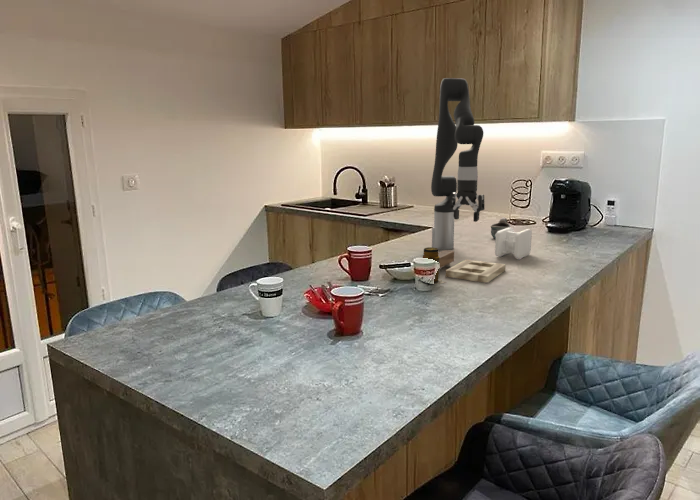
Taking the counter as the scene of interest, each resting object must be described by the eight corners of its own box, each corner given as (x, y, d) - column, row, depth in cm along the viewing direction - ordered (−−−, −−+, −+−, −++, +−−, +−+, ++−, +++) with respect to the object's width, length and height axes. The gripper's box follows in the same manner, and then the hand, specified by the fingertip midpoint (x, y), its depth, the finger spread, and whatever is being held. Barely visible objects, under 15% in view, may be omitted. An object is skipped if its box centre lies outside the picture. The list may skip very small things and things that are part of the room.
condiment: (432, 277, 195) (433, 245, 192) (446, 282, 188) (447, 250, 185) (416, 279, 192) (416, 247, 189) (429, 285, 185) (430, 252, 182)
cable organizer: (517, 261, 217) (518, 233, 214) (493, 258, 223) (494, 231, 221) (531, 254, 228) (532, 228, 225) (507, 251, 234) (509, 226, 232)
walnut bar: (429, 272, 202) (429, 257, 201) (444, 264, 213) (444, 250, 212) (439, 273, 200) (439, 258, 198) (453, 265, 211) (454, 251, 210)
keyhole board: (445, 276, 195) (445, 270, 195) (465, 265, 211) (466, 259, 211) (487, 283, 186) (487, 276, 186) (505, 270, 203) (505, 264, 202)
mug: (488, 240, 259) (489, 220, 257) (491, 235, 270) (492, 216, 268) (508, 241, 256) (509, 221, 253) (511, 236, 267) (512, 217, 265)
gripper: (446, 178, 203) (445, 219, 207) (478, 180, 194) (477, 223, 197) (456, 177, 209) (455, 217, 212) (489, 178, 199) (487, 221, 202)
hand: (466, 220), depth 204 cm, fingers open, 8 cm apart
